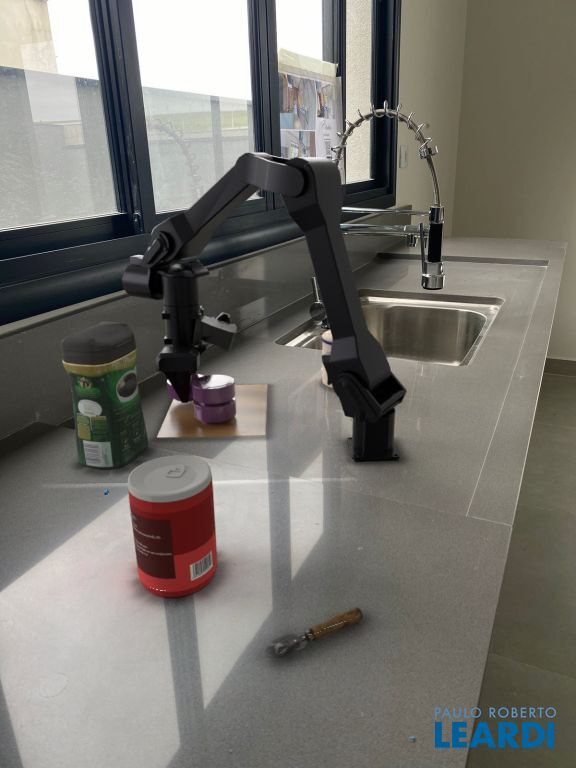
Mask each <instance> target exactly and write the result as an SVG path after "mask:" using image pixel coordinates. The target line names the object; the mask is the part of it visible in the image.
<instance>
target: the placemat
mask: <svg viewBox="0 0 576 768" xmlns="http://www.w3.org/2000/svg"><path fill="white" fill-rule="evenodd" d="M268 385H269V384H268V383H264V384H263V383H259V384H235V398H236V415H235V416H234V417H233V418H231V419H229V420H228V421H225V422H222V423H216V424H211V423H205V422H203V421H200V420H198V419H196V418H195V416H194V406H193V401H190V402H188V403H182V402H181V401H177V400H175V399H172V402H171V403H170V406H169V408H168V410H167V413H166V415H165V418H164V420H163V422H162V424H161V426H160V429H159V431H158V433H157V436H156V438H157V439H169V438H173V439H174V438H175V439H176V438H215V437H216V438H217V437H219V438H220V437H260V436H261V437H263V436H264V437H265V436H266V433H267V415H268V414H267V411H268V391H269V390H268V389H269V387H268Z"/></svg>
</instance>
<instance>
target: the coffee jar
mask: <svg viewBox="0 0 576 768" xmlns="http://www.w3.org/2000/svg"><path fill="white" fill-rule="evenodd" d="M60 348H61V358H62V366H63V367H64V369H65V371H66V373H67V376H68V379H69V383H70V389H71V396H72V408H73V417H74V418H73V419H74V430H75V443H76V444H75V445H76V455H77V460H78V462H79V463H80V464H81V465H83V466H84V467H87V468H90V469H93V470H94V469H95V470H113V469H120V468H123V467H125V466H126V465H129V464H130V463H131V462H133V461H134V460H136V459H137V458H138V457H139V456H140V455H141V454H142V453H143V452H144V451H145V450H146V449H147V447H148V445H149V439H148V432H147V427H146V420H145V417H144V412H143V407H142V401H141V400H142V399H141V393H140V387H139V380H138V373H137V356H138V355H137V354H138V348H137V343H136V338H135V334H134V331H133V329H132V328H131V327H130V326H129V325H128V324H127V323H125V322H116V321H115V322H114V321H101V322H100V323H98V324H96V325H93V326H90V327H87V328H85V329H83V330H80V331H77V332H75V333H71V334H69V335H66V336H65V337H64V338H63V339H62V340H61V341H60Z"/></svg>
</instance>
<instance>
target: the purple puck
mask: <svg viewBox="0 0 576 768" xmlns="http://www.w3.org/2000/svg"><path fill="white" fill-rule="evenodd" d="M235 385H236V380H235V379H234V378H233V377H232V376H229V375H226V374H208V375H203V376H202V377H199V378H196V379H195V380H193V381H192V393H193V399H194V400H195V401H197V402H200V403H202V404H205V405H219V404H223V403H226V402H228V401H229V400H231V399H233V398H234V397H235Z"/></svg>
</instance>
